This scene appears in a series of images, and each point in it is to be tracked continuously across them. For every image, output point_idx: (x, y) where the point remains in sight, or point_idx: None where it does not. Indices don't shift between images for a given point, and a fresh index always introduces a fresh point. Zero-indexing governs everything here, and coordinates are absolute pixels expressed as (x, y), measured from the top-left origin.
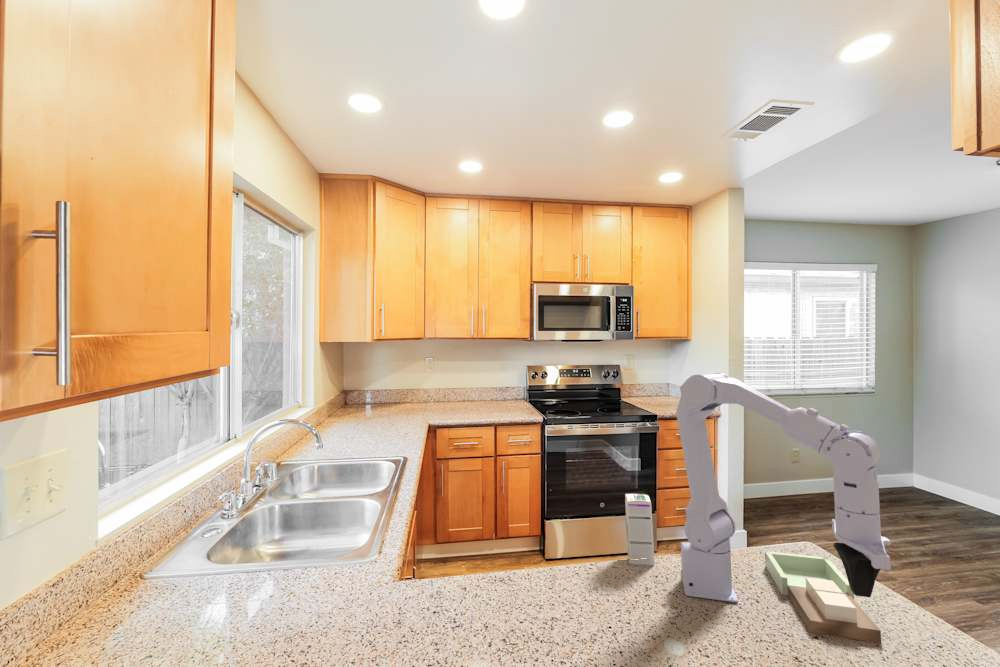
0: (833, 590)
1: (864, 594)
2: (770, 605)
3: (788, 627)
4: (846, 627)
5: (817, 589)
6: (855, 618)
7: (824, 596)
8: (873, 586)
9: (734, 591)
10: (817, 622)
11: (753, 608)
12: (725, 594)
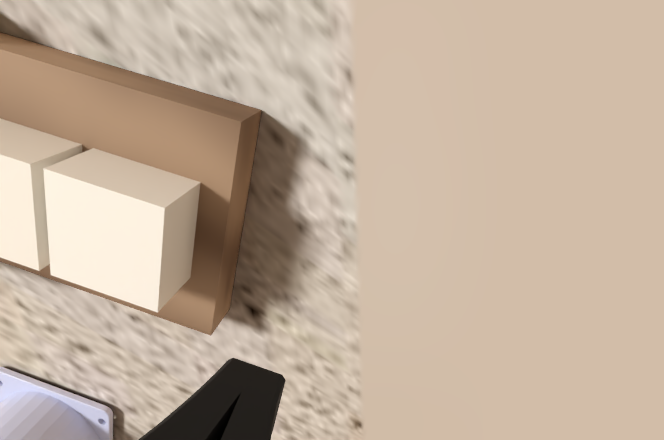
0: (22, 196)
1: (275, 412)
2: (96, 326)
3: (212, 352)
4: (228, 234)
5: (36, 258)
6: (191, 195)
7: (93, 273)
8: (266, 433)
9: (55, 392)
10: (215, 315)
11: (128, 381)
12: (90, 435)
